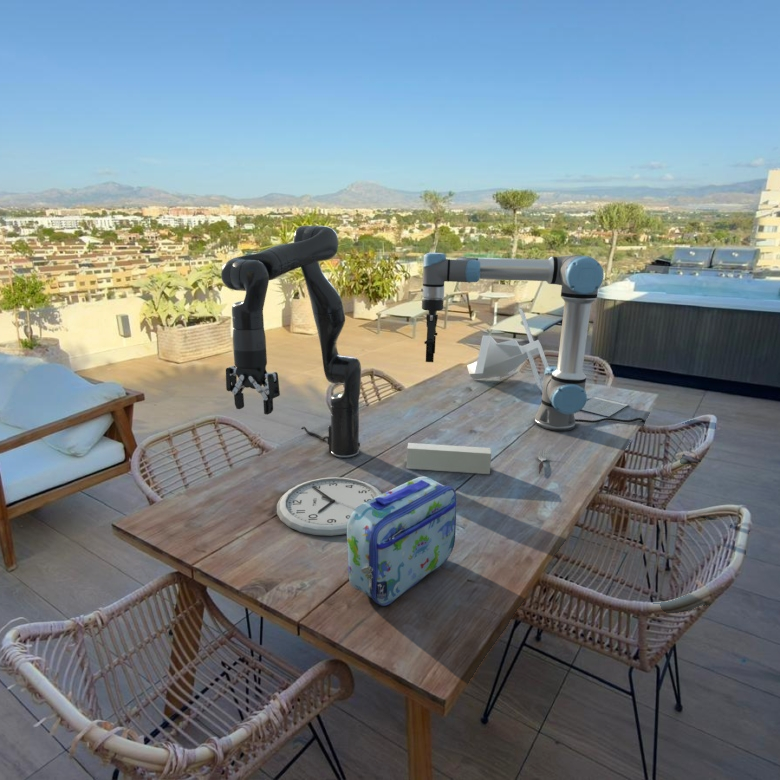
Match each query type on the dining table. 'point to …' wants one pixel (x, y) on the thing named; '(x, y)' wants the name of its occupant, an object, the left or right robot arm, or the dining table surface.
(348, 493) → the wall clock
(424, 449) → the beam
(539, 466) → the fork
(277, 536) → the dining table surface
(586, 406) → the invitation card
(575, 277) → the right robot arm
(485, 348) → the white plastic object
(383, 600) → the lunch box
